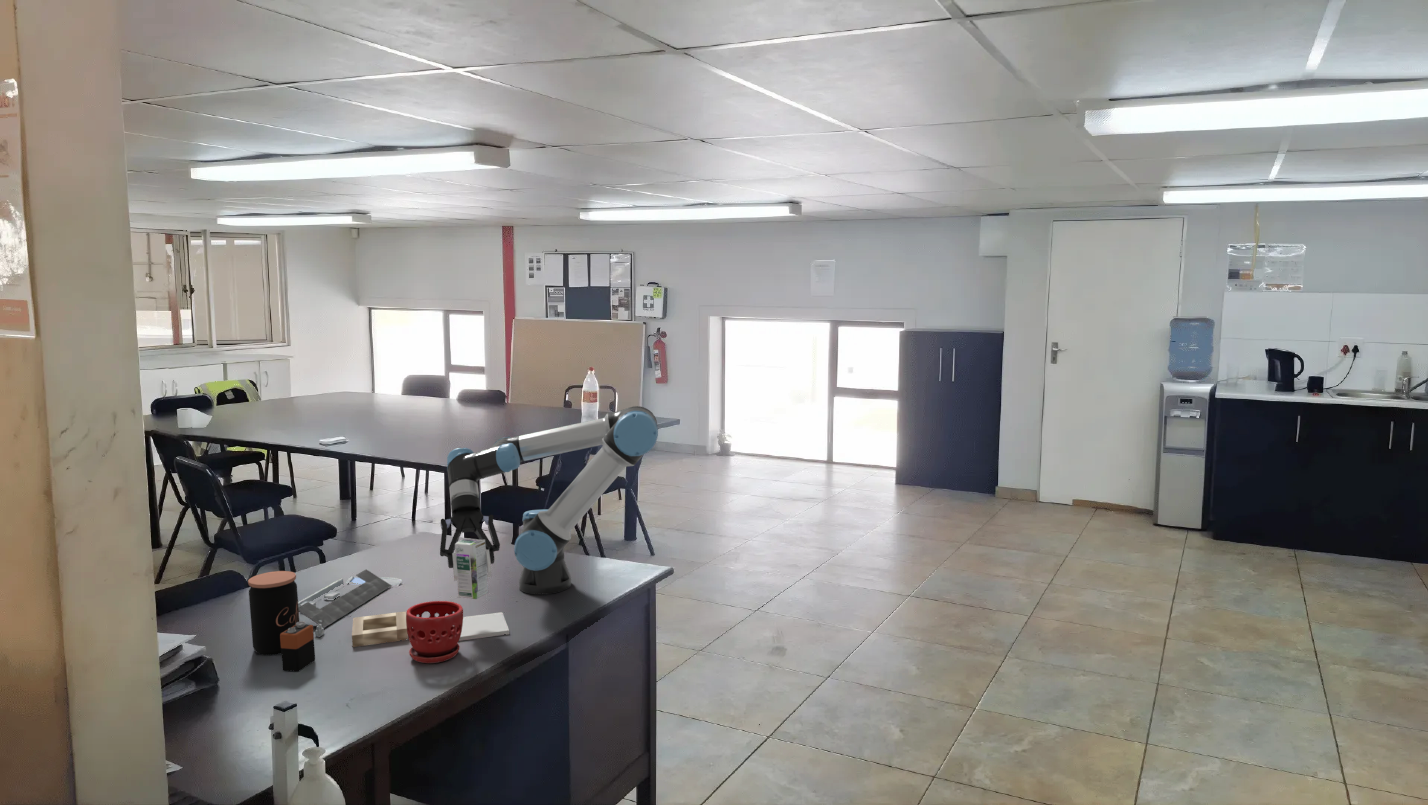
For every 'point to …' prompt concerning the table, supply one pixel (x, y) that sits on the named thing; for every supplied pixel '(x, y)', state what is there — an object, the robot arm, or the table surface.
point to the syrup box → (471, 568)
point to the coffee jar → (272, 609)
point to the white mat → (483, 626)
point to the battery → (297, 647)
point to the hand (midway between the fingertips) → (472, 576)
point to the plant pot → (434, 631)
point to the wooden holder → (379, 629)
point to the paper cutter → (344, 598)
